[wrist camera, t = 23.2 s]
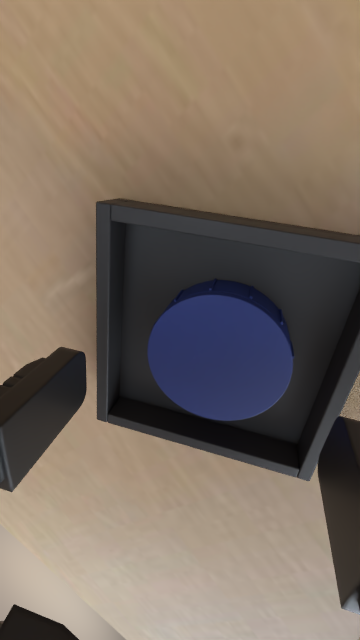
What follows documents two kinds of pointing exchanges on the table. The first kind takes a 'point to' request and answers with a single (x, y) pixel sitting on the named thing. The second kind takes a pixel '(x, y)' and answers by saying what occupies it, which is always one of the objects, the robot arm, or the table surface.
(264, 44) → the table surface
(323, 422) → the tray
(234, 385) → the lid
